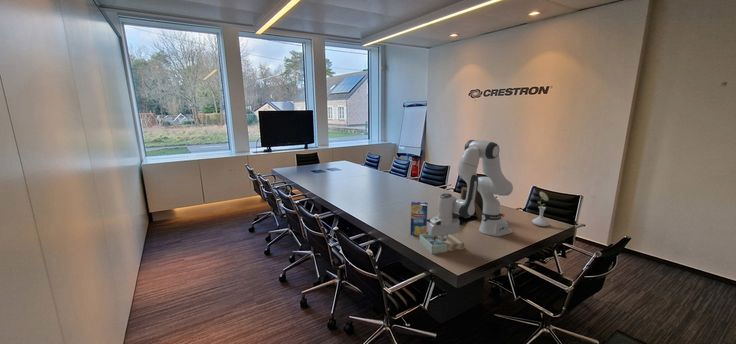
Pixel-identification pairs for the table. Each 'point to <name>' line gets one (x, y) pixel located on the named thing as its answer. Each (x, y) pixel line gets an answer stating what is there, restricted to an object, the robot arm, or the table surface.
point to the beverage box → (418, 218)
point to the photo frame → (477, 203)
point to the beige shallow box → (452, 242)
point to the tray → (432, 248)
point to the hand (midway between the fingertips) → (443, 240)
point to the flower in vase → (541, 213)
